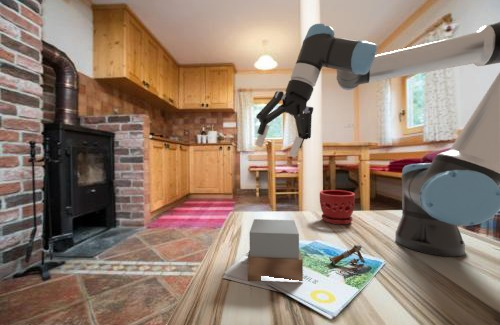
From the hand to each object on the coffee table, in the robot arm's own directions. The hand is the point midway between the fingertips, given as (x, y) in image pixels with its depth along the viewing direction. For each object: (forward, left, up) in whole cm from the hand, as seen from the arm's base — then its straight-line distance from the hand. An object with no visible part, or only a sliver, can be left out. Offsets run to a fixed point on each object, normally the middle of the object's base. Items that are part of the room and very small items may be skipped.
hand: (276, 151), depth 65 cm
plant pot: (-25, -22, -28) cm, 43 cm away
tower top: (+1, +17, -23) cm, 28 cm away
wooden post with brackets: (-16, +14, -28) cm, 35 cm away
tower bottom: (+1, +17, -28) cm, 33 cm away
